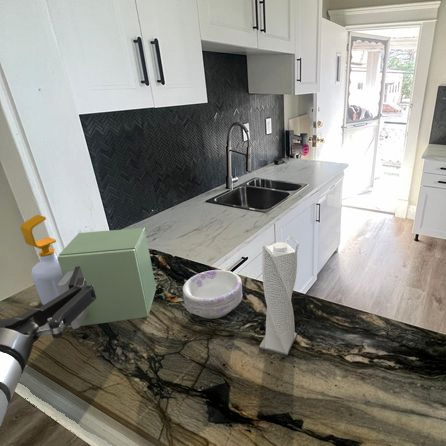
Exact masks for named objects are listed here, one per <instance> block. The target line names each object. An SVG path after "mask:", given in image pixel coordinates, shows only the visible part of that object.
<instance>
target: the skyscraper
mask: <svg viewBox="0 0 446 446" xmlns="http://www.w3.org/2000/svg"><path fill="white" fill-rule="evenodd" d="M289 240H292V241H293V242H294V243H295V244H296V246H295V249H294V248H293V247H292V246H291V245H290V244H289V243H288V241H289ZM299 245H300V243H299V242H298V241H297V240H296V239H295V238H293V236H287V237H286V239H285V241H284V242H283V241H277V242H274V243H273V244H270V245H265V244H263V245H262V259H261V260H262V265H261V267H262V268H261V269H262V284H263V285H262V286H263V293H264V299H265V304H266V314H265V316H266V317H265V319H266V320H265V335H264V337H263V339H262V341H261V343H260V344H259V346H258V348H259V349H262V350H265V351H269V352H273V353H277V354H279V355H284V356H289V352H290V351H291V348H292V346H293V345H294V342H295V340H296V337H297V334H298V333H297V332H296V331H295V330H296V329H295V326H296V325H295V315H294V308H293V302H292V295H293V292H294V288H295V285H296V278H297V272H298V251H299V250H298V249H299Z"/></svg>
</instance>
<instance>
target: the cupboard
mask: <svg viewBox="0 0 446 446" xmlns="http://www.w3.org/2000/svg"><path fill="white" fill-rule="evenodd" d="M128 249H135V252H136V257H137V261H138V266H139V271H140V276H141V280H142V285H143V290H144V295H145V299H146V304H147V309H148V314H149V315H150V312H151V310H152V309H151V308H152V305H153V301H154V297H155V294H156V292H157V291H156V290H157V286H156V280H155V276H154V270H153V264H152V260H151V255H150V250H149V244H148V238H147V233H146V228H145V227H139V228H138V227H137V228H136V227H135V228H125V229H123V228H122V229H114V230H113V229H112V230H111V229H110V230H100V231H99V230H98V231H86V232H78V233H77V234H76V235H75V236H74V237H73V238H72V240H70V242H69V243H68V244H67V245H66V246H65V247H64V249H62V251H61V252H59V254H58V256H59V255H71V254H82V253H94V252H105V251H116V250H128Z"/></svg>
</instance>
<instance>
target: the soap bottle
mask: <svg viewBox="0 0 446 446" xmlns="http://www.w3.org/2000/svg"><path fill="white" fill-rule="evenodd" d="M46 220H47V217H46V216H45V215H44V216H43V215H40V214H36V215H33V216H32V217H31V218H29V219H28V220H26V221H24V222H23V223H22V224H21V225H20V231H21V234H22V236H23V239H24V242H25V243H26V244H27V245H28V246H31V247H34V248H37V249H40V250H41V251H39V253H38V255H39V256H38V257H39V258H40V259H39V260H40V261H38V262H37V263H35V265H34V266H33V267H32V268H31V274H30V276H31V279H32V281H33V284H34V287H35V289H36V293H37V295H38V297H39V300H40V303H41V304H42V306H43V305H45V304H46V303H48V302H49V301H51V300H53V299H54V298H56V297H58V296H59V295H61V293H60V290H59V287H58V283H59V282H60V281H61V279H62V278H63V274H62V271H61V268H60V265H59V262H58V259H57V257H58V256H57V254H56V251H55V249H54V248H50V247H51V246H52V244H55V243H56V242H57V239H56V238H53V237H44V238H42V239H39V240H36V239H35V237H34V234H33V229H34V228H35V227H37V226H38V225H40V224H42V223H43V222H44V221H46Z"/></svg>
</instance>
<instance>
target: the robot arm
mask: <svg viewBox="0 0 446 446" xmlns="http://www.w3.org/2000/svg"><path fill="white" fill-rule="evenodd" d="M68 286H69V290H67V291H66V292H64V293H63V294H61V295H59V296H58V297H56V298H54V299H53V300H51V301H49V302H48V303H46V304H45V305H43V304H42V305H41V306H39V307H38V308H35V307H33V308H31V309H29V310H27V311H26V312H24V313H22V314H20V315H15V316H12V317H9V318H1V319H0V427H1V426H2V423H3V421H4V419H5V416H6V414H7V411H8V407H9V405H10V403H11V401H12V398H13V396H14V394H15V391H16V389H17V386H18V384H19V382H20V379H21V378H22V375H23V373H24V371H25V369H26V366H27V364H28V361H29V359H30V356H31V354H32V352H33V351H32V350H33V346H34V344H35V343H36V341H38V340H39V339H40V337H43V336H50V335H51V336H52V338H53V339H59V338H61V337H62V336H63V335H64V334H65V331H66V330H67V328H68V327H69V326H70V325H71V322H72V321H74V320H75V319H76V318H77V317H78V316H79V315H80V314H81V313H82V312H83V311H84V310H85V309H86V308H87V307H88V306H89V305H90V304H91V303H92V302H93V301H94V300H95V299H96V294H95V290H94V287H93V285H87V283H86V280H85V278H84V277H83V274H82V270H81V267H80V266H77V267H75V269H74V272H73V275H72V277H71V280H70V283H69V285H68ZM32 319H33V320H32Z"/></svg>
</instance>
